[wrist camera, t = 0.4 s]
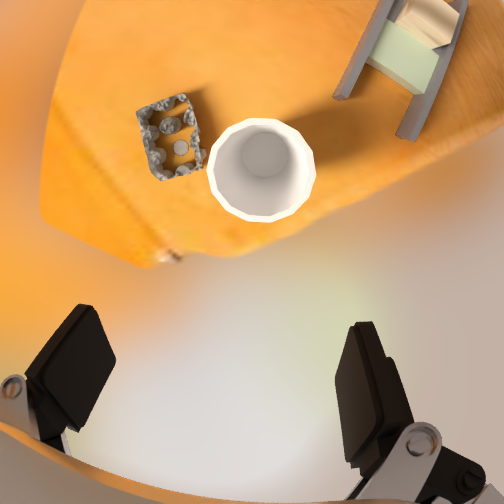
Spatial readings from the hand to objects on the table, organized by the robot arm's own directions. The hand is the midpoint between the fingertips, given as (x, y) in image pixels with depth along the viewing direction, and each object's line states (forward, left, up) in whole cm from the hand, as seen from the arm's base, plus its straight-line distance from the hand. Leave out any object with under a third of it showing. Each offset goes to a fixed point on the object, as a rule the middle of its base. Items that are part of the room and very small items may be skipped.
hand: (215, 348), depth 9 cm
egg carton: (-5, -11, -31) cm, 33 cm away
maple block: (-26, +20, -27) cm, 42 cm away
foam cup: (-3, +1, -31) cm, 31 cm away
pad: (-20, +17, -30) cm, 40 cm away
